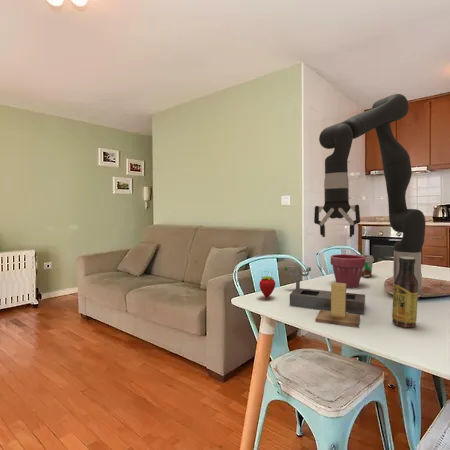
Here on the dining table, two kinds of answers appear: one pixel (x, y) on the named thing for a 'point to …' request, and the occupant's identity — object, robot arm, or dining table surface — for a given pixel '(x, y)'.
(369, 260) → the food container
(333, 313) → the brass peg
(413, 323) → the sauce bottle
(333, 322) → the walnut board
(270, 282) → the strawberry
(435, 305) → the dining table surface
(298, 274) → the mechanical component
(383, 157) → the robot arm
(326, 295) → the grey slotted block
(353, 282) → the plant pot
